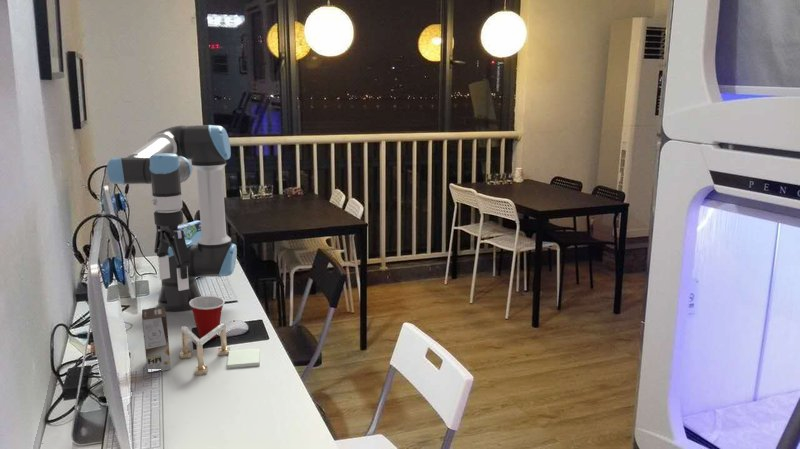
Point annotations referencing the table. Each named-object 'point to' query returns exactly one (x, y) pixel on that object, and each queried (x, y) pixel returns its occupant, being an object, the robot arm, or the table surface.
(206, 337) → the three-legged tripod stand
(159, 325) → the coffee box
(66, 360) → the table surface
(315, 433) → the table surface
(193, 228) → the gum box
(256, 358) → the end plate
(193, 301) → the plastic cup
